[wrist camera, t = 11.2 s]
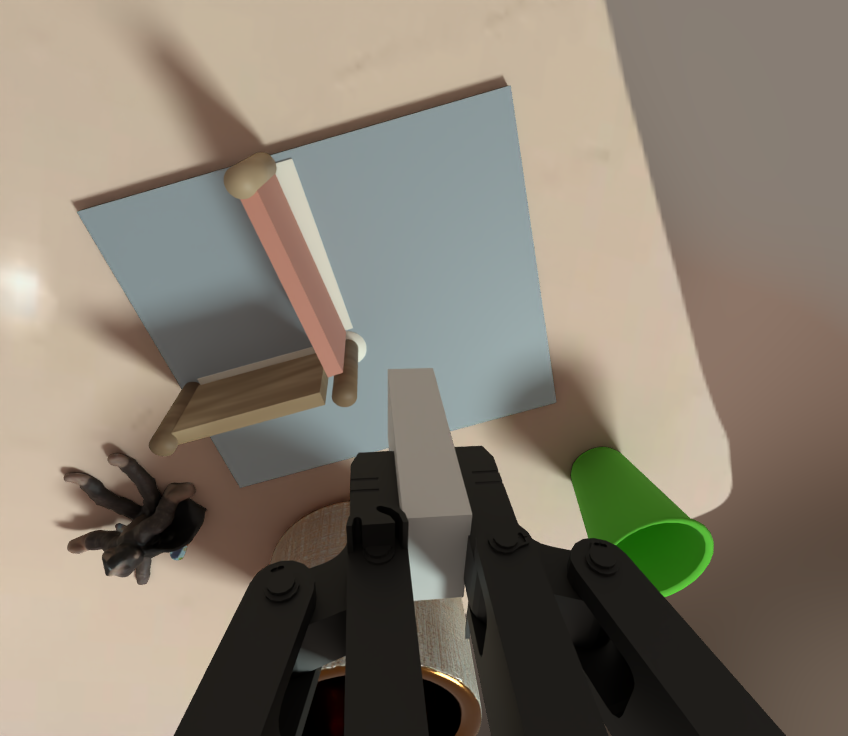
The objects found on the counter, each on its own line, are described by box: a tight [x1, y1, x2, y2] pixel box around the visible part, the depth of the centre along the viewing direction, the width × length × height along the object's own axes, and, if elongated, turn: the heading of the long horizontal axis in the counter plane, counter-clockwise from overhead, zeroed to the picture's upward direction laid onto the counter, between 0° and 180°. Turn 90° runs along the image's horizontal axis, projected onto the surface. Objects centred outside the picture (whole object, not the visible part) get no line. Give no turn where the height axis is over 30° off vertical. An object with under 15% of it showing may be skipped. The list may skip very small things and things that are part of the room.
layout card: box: [77, 86, 556, 488], centre depth 37 cm, size 24×28×1 cm
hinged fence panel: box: [224, 152, 346, 377], centre depth 31 cm, size 13×2×6 cm, turn 18°
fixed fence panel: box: [149, 339, 358, 456], centre depth 35 cm, size 2×14×8 cm, turn 104°
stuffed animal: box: [64, 453, 206, 585], centre depth 44 cm, size 12×10×12 cm
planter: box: [270, 501, 482, 736], centre depth 43 cm, size 18×18×16 cm
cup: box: [571, 447, 714, 597], centre depth 42 cm, size 9×9×11 cm
